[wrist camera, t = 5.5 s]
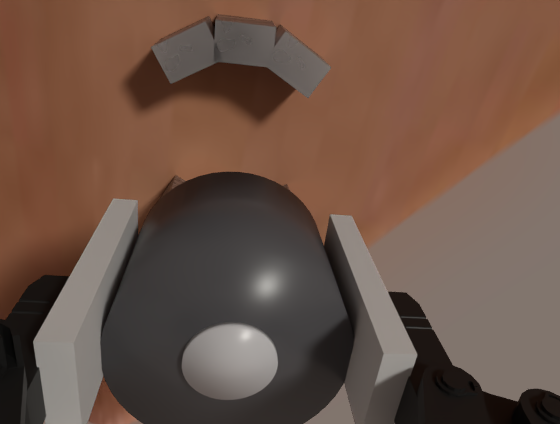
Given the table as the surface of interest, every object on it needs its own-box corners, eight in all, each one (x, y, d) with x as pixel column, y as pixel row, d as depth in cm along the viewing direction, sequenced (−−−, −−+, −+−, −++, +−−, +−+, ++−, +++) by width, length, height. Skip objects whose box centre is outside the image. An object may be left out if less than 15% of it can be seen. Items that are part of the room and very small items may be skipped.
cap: (136, 163, 15) (90, 247, 10) (335, 180, 15) (379, 264, 11) (138, 325, 17) (103, 451, 13) (307, 332, 18) (332, 451, 13)
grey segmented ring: (160, 7, 23) (150, 11, 20) (325, 27, 24) (336, 34, 21) (159, 220, 28) (151, 245, 26) (294, 229, 29) (300, 254, 27)
